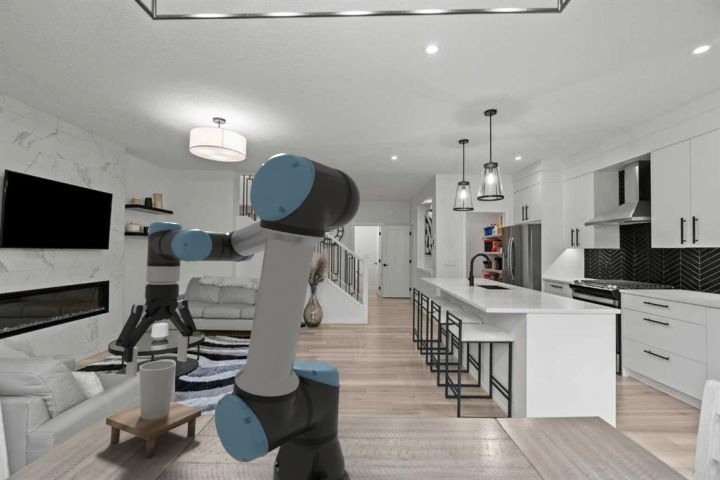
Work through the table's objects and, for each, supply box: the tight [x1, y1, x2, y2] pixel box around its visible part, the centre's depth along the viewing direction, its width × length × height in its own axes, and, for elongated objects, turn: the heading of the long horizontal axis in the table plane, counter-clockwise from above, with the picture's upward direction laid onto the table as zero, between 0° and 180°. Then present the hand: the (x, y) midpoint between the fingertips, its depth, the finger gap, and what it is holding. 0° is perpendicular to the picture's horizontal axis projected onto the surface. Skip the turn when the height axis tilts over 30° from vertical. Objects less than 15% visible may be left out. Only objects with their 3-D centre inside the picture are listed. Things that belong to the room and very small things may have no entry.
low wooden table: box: [105, 400, 202, 459], centre depth 89 cm, size 16×14×6 cm
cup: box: [139, 360, 177, 420], centre depth 89 cm, size 8×8×12 cm
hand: (158, 367), depth 89 cm, fingers open, 13 cm apart
